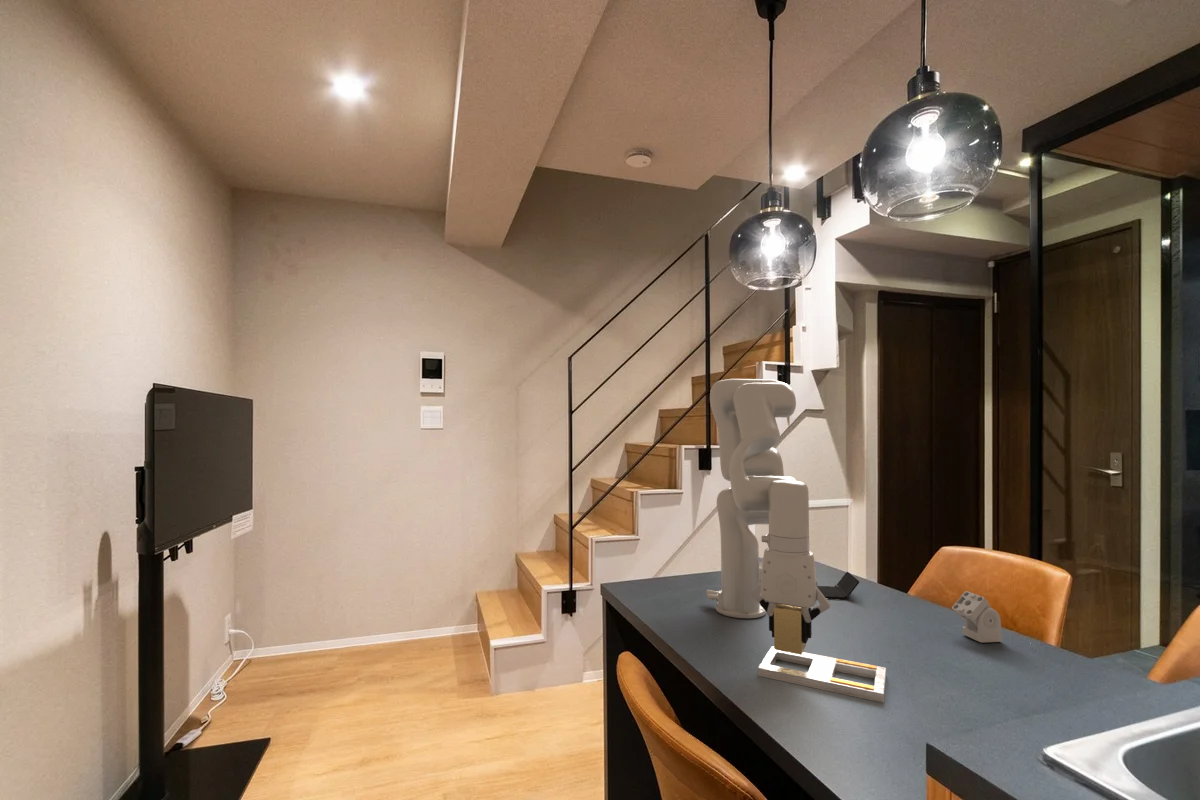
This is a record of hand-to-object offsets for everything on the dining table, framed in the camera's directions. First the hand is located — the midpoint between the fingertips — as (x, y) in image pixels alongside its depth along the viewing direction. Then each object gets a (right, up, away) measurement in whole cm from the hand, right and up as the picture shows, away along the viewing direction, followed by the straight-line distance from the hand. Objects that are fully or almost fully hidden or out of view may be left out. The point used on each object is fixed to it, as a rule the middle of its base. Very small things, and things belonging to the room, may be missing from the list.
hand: (790, 637), depth 106 cm
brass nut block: (0, -2, 0) cm, 2 cm away
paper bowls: (+13, -10, +54) cm, 56 cm away
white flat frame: (+5, -6, -4) cm, 8 cm away
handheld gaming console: (+31, -10, +49) cm, 59 cm away
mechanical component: (+47, -7, +15) cm, 50 cm away
